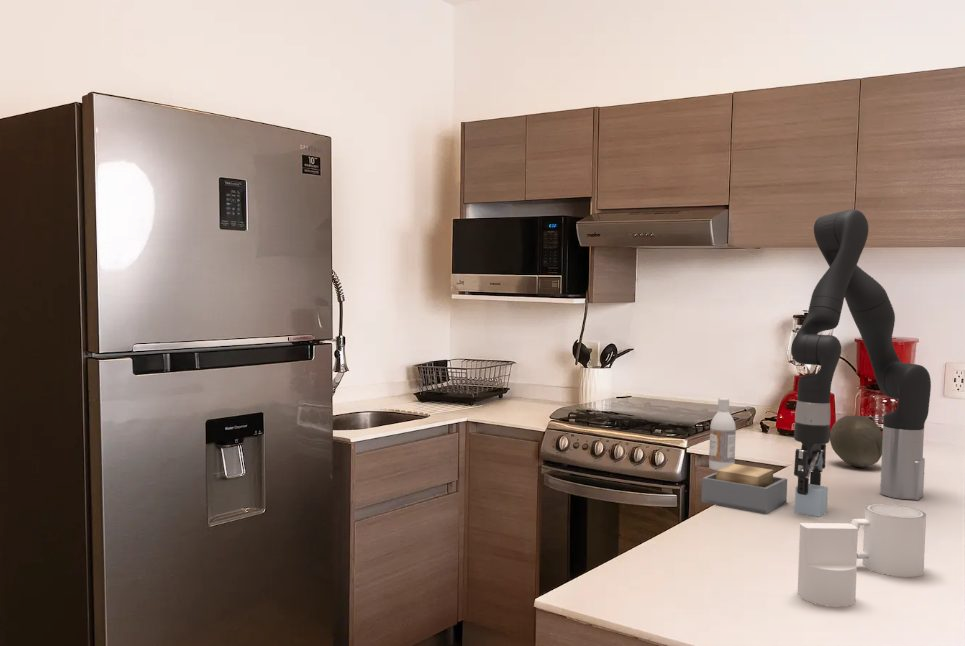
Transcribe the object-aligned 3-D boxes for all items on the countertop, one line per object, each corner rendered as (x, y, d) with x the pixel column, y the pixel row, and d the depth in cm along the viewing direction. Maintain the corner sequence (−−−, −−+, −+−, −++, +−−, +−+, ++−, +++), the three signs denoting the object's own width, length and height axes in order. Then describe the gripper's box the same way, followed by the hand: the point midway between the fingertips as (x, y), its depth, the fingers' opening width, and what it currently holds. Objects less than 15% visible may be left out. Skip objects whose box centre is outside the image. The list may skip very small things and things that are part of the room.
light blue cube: (826, 512, 195) (827, 486, 195) (819, 517, 191) (820, 491, 191) (802, 508, 199) (803, 482, 199) (794, 512, 195) (795, 487, 194)
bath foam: (704, 466, 242) (706, 397, 241) (725, 465, 244) (727, 396, 243) (717, 472, 235) (720, 400, 234) (739, 471, 237) (741, 400, 236)
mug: (864, 578, 151) (866, 519, 151) (835, 559, 161) (837, 504, 161) (935, 576, 153) (938, 518, 152) (902, 558, 163) (904, 503, 162)
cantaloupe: (872, 462, 252) (874, 412, 251) (890, 473, 238) (892, 420, 237) (823, 461, 253) (825, 411, 253) (838, 471, 239) (840, 418, 239)
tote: (786, 502, 203) (787, 478, 203) (766, 514, 193) (766, 488, 192) (724, 491, 213) (724, 468, 213) (701, 502, 202) (702, 478, 202)
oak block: (772, 498, 203) (773, 469, 203) (756, 506, 196) (758, 476, 195) (732, 491, 210) (733, 463, 209) (715, 499, 202) (716, 470, 202)
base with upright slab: (840, 587, 146) (842, 518, 146) (865, 607, 137) (868, 534, 137) (788, 586, 146) (791, 518, 145) (810, 606, 137) (813, 533, 136)
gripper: (819, 426, 186) (815, 499, 187) (838, 420, 197) (835, 489, 198) (785, 422, 191) (781, 493, 192) (806, 416, 202) (802, 483, 203)
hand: (808, 491), depth 195 cm, fingers open, 8 cm apart
